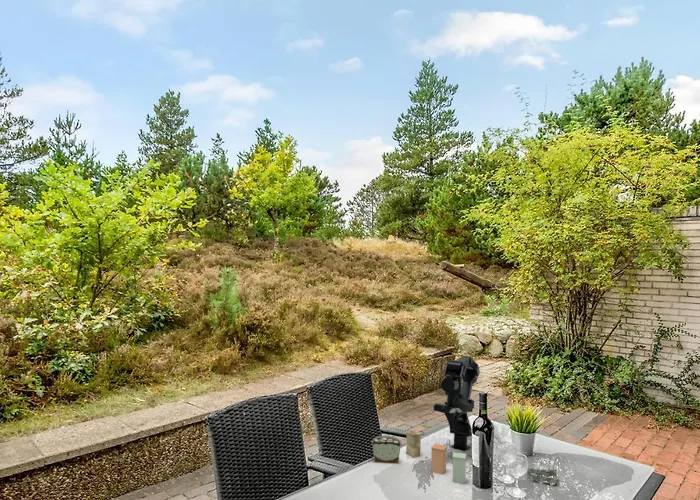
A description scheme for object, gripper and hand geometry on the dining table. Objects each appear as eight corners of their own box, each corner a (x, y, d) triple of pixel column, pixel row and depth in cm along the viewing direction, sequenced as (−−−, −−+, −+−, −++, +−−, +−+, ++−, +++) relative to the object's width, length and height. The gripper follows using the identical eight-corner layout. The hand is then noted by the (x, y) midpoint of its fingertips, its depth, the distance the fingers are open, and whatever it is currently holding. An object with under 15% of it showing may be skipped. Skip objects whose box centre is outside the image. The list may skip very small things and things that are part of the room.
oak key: (414, 451, 193) (414, 430, 194) (420, 455, 189) (421, 433, 189) (405, 453, 192) (406, 431, 192) (412, 457, 187) (412, 435, 188)
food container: (401, 460, 187) (401, 436, 188) (401, 467, 181) (402, 441, 181) (371, 458, 188) (372, 434, 189) (370, 465, 182) (371, 440, 183)
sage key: (452, 476, 171) (452, 452, 171) (465, 478, 170) (466, 453, 170) (452, 481, 167) (452, 456, 167) (465, 483, 166) (465, 458, 166)
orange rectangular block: (434, 467, 179) (434, 443, 179) (446, 470, 177) (446, 446, 177) (430, 471, 175) (431, 447, 175) (442, 474, 173) (443, 450, 173)
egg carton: (557, 480, 174) (558, 469, 174) (555, 488, 167) (556, 477, 167) (528, 473, 179) (528, 462, 179) (525, 480, 172) (525, 469, 173)
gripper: (454, 394, 182) (452, 435, 179) (483, 393, 192) (482, 432, 190) (433, 389, 190) (431, 428, 188) (463, 389, 201) (461, 426, 199)
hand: (452, 429), depth 191 cm, fingers closed
